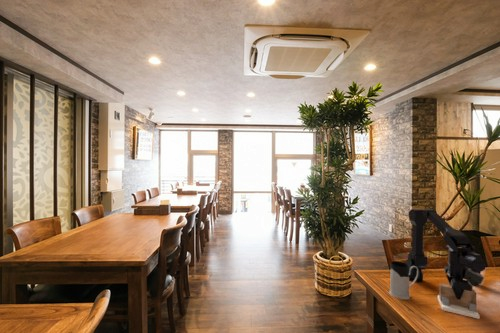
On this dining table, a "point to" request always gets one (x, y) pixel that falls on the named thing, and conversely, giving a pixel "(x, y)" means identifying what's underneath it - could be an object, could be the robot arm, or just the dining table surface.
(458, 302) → the door
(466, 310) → the side panel
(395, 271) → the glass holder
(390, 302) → the dining table surface
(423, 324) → the dining table surface
